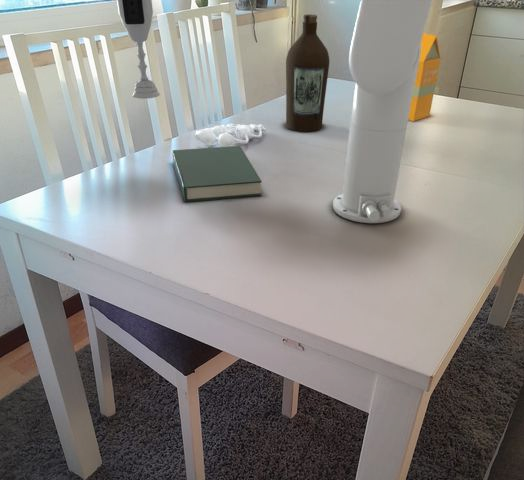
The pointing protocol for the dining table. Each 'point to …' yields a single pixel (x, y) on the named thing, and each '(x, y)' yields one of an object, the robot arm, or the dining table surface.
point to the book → (215, 174)
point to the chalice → (141, 49)
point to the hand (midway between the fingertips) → (136, 19)
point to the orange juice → (425, 78)
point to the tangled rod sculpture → (228, 134)
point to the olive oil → (306, 79)
